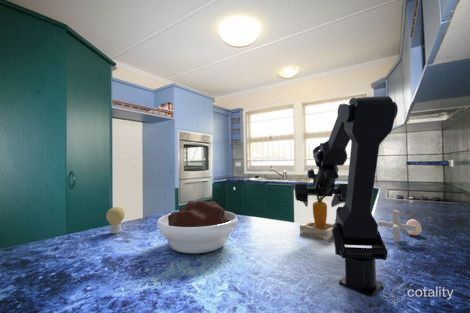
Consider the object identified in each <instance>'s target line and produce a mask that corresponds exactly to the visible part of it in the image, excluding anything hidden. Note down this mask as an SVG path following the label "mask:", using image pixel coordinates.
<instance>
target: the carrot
mask: <svg viewBox="0 0 470 313" xmlns="http://www.w3.org/2000/svg"><path fill="white" fill-rule="evenodd" d="M326 197H327V196H316V199H317V201H314V202H313V203H312V214H313V221H315V225H316V227H317V228H319V229H324V227H325V224H326V223H327V219H328V218H327V217H328V204H327V203H326V202H324V201H323V200H324V199H325V198H326Z"/></svg>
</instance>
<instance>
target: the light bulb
mask: <svg viewBox="0 0 470 313" xmlns="http://www.w3.org/2000/svg"><path fill="white" fill-rule="evenodd" d="M125 212H126V211H125V210H124V209H123V208H122V207H119V206H115V207H112V208H110V209H108V210H107V212H106V214H105V215H106V216H105V218H106V220H107V222H108V223H109V224H110V225H109V233H110V234H113V235H114V234H115V235H116V234H119V233H121V229H122V224H121V223H122V221H123V220H124V218H125V216H126V215H125Z"/></svg>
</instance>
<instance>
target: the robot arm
mask: <svg viewBox="0 0 470 313" xmlns="http://www.w3.org/2000/svg"><path fill="white" fill-rule="evenodd" d="M398 109H399V107H398V104H397V102H395V101H393V99H392V98H391V97H390V96H389V95H380V96H379V95H378V96H377V95H376V96H375V95H374V96H362V97H356V96H355V97H351V98H350V99H349V102H345V103H340V104H339V105H338V108H337V116H336V120H335V122H334V125H333V127H332V130H331V132H330V136H329V137H328V140H326V141H324V142H322V143H320V144H319V145H317V146H316V147H315V148H313V150H312V154H313V157H312V158H313V159H314V163H315V166H316V167H317V168H308V169H307V173H306V174H307V175H306V176H307V178H308V179H312V180H313V181H312V185H313V186H314V188H307V183H295V184H294V186H293V189H294V197H295V200H296V201H297V202H301V203H303V204H304V206H305V207H306V208H307V207H308V205H309V196H311V197H312V196H314V197H317V196H319V197H320V196H322V197H323V196H326V197H333V198H332V199H331V202H330V203H331V204H330V205H331V208H335V207H336V206H338V205H341V204H344V203H345V204H344V205H343V206H338V207H337V208H336V210H335V211H336V212H335V220H334V223H333V224H334V225H333V229H332V234H333V244H334V254H335V255H336V256H339V257H341V259H344V273H345V275H344V276H343V277H341V278H340V279H339V280H338V284H340V285H342V286H345V287H347V288H349V289H352V290H354V291H357V292H358V293H359V292H360V293H361V294H364V295H366V296H369V297H373V296H374V295H376V293H377V292H379V290H380V289H381V288H382V287H383V282H382V281H379V280H377V272H376V270H377V268H376V267H377V266H376V260H382V261H387V257H388V250H387V248H386V245H385V243H384V240H383V238H382V235H381V234H380V231H379V225H378V222H377V220H376V219H375V217H374V215H373V214H372V203H373V196H374V187H375V182H376V175H377V174H376V173H377V168H378V167H377V166H378V161H379V160H378V159H379V150H380V145H381V143H383V142H384V140H385V139H386V138H387V137H388V136H389V135H390V133H391V132H392V131H393V128H394V123H395V120H396V117H397V115H398V111H399V110H398ZM350 141H351V145H350V146H351V147H350V156H349V165H348V174H347V175H348V177H347V183H337V184H335V183H336V179H337V180H338V179H339V167H341V166H344V165H345V163H346V162H347V159H348V153H347V150H346V148H347V147H348V145H349V143H350ZM338 166H339V167H338ZM349 246H350V247H349ZM353 246H356V247H353ZM357 246H360V247H357ZM361 246H362V247H361Z"/></svg>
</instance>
